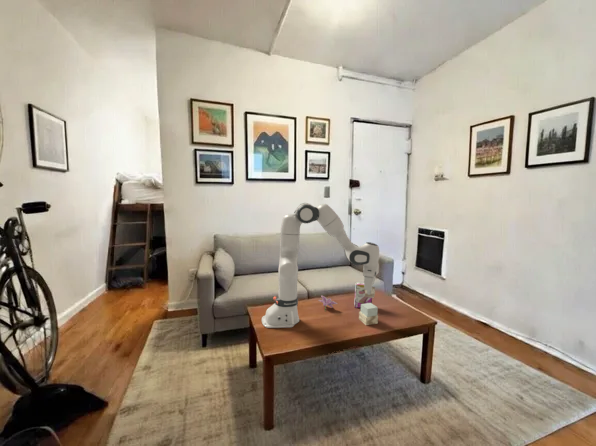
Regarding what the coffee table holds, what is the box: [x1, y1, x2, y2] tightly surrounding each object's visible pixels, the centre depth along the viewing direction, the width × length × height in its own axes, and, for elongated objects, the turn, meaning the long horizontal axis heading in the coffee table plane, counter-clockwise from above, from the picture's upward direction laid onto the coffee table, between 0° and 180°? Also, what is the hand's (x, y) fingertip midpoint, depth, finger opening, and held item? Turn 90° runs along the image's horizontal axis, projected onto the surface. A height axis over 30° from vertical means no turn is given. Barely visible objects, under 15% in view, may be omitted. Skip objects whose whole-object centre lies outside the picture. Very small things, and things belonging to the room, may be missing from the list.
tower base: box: [358, 310, 379, 326], centre depth 162 cm, size 8×8×5 cm
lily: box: [317, 294, 338, 311], centre depth 177 cm, size 12×12×10 cm
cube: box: [365, 286, 376, 299], centre depth 160 cm, size 5×5×5 cm
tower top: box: [360, 302, 378, 317], centre depth 161 cm, size 7×7×5 cm
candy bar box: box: [353, 281, 373, 309], centre depth 182 cm, size 11×5×16 cm, turn 84°
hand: (369, 292), depth 160 cm, fingers closed on cube, 5 cm apart
